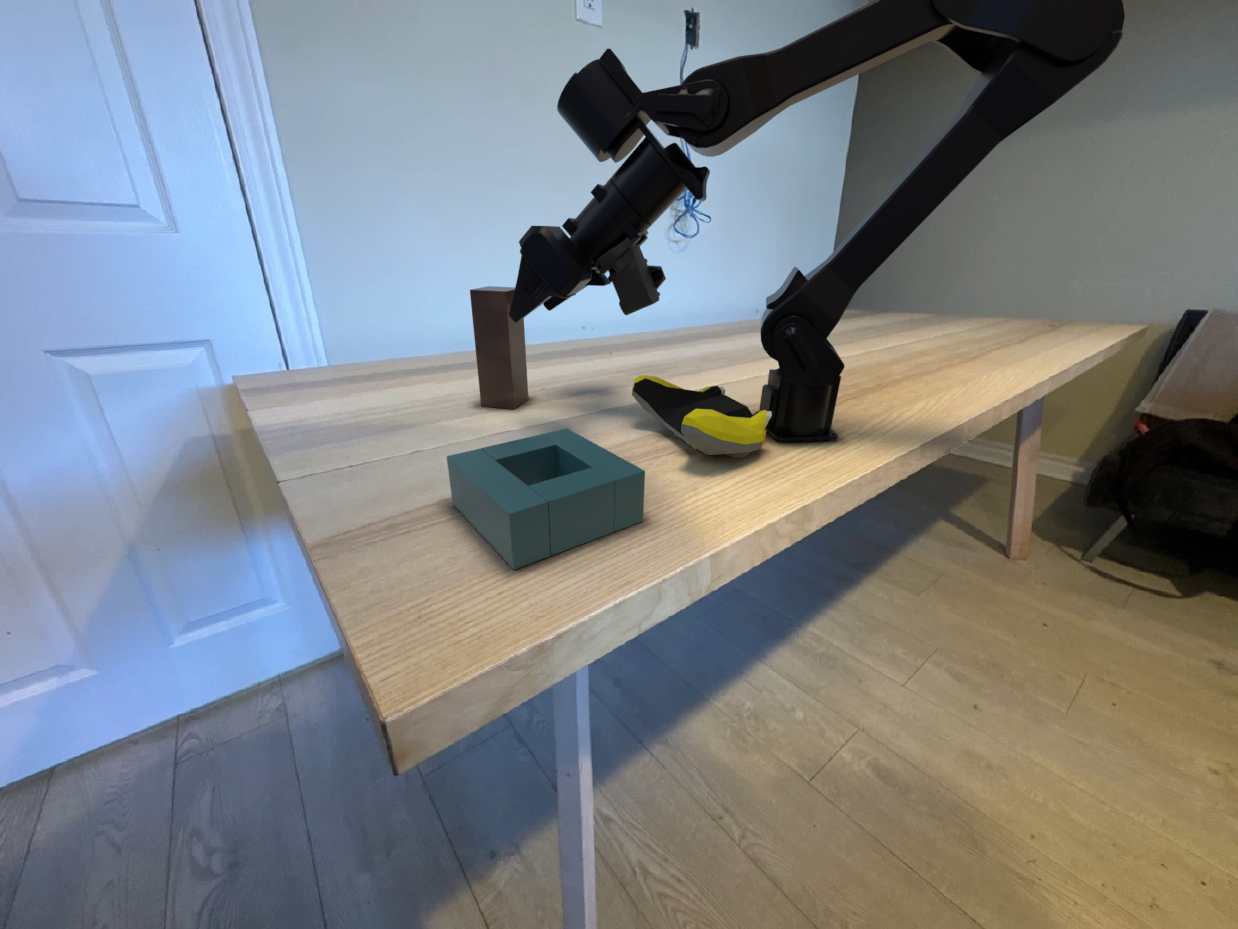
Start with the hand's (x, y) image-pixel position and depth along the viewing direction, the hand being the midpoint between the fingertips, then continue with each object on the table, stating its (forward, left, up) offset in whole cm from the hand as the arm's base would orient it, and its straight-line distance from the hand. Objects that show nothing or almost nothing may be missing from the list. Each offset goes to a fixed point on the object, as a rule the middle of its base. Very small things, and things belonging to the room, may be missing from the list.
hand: (530, 312), depth 57 cm
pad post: (+4, -1, -11) cm, 11 cm away
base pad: (-1, +26, -11) cm, 28 cm away
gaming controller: (-16, +13, -11) cm, 23 cm away
